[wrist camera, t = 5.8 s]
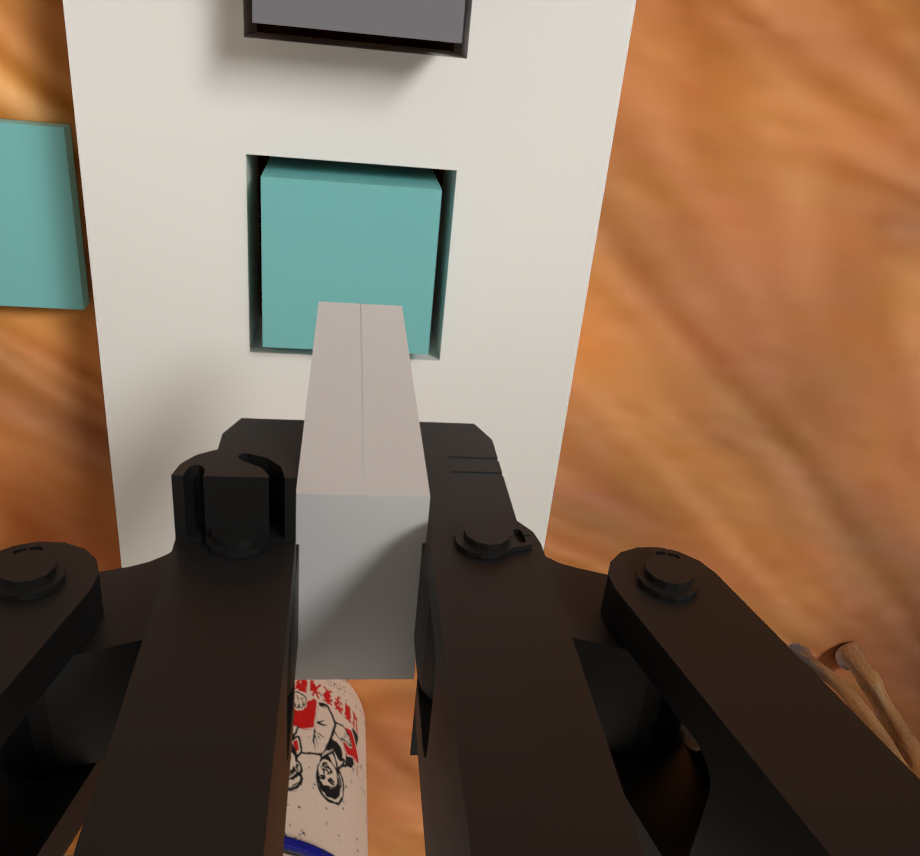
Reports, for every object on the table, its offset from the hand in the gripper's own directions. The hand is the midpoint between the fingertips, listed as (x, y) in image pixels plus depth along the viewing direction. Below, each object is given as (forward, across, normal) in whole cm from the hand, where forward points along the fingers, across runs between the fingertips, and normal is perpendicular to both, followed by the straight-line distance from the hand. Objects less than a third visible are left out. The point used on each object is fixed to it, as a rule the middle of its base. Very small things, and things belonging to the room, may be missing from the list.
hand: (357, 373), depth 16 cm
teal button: (+10, 0, 0) cm, 10 cm away
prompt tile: (+10, -10, 0) cm, 14 cm away
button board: (+10, 0, 0) cm, 10 cm away
